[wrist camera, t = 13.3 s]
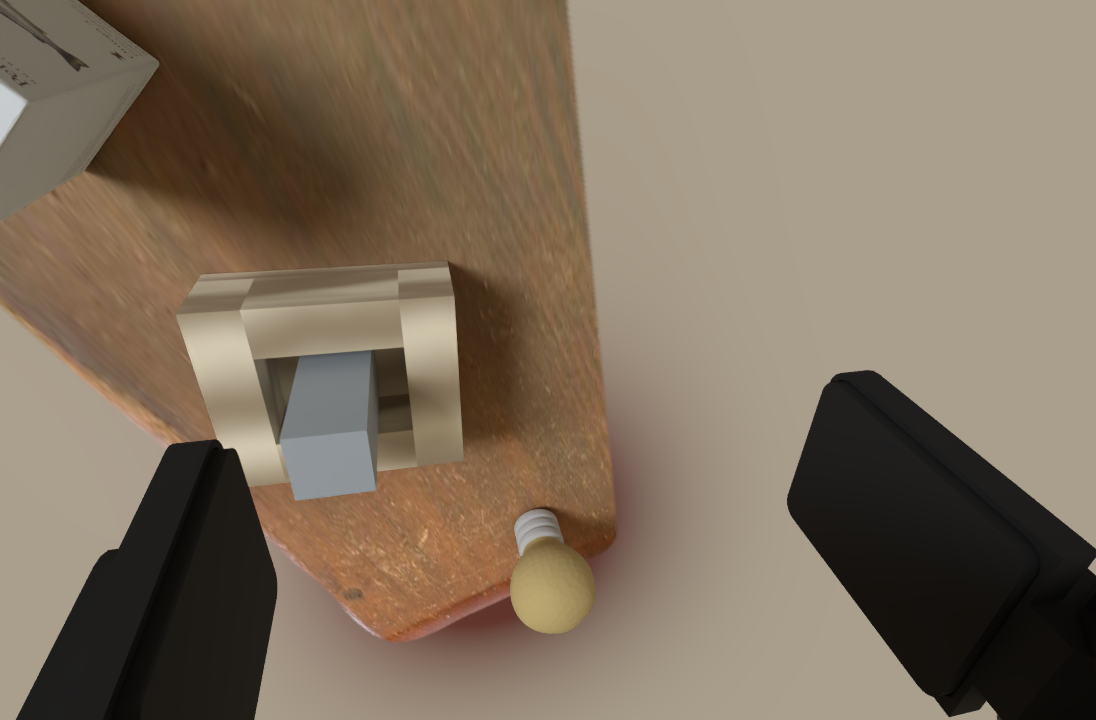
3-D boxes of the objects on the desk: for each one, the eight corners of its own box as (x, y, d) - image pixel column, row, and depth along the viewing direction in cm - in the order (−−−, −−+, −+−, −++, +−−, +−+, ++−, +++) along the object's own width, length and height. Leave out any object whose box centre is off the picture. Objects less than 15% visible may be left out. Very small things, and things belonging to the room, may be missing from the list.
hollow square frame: (201, 274, 34) (175, 314, 30) (447, 261, 37) (454, 295, 33) (249, 437, 41) (234, 488, 37) (456, 415, 44) (463, 460, 39)
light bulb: (484, 537, 51) (502, 645, 43) (520, 484, 49) (546, 587, 40) (547, 552, 54) (575, 656, 45) (584, 502, 51) (621, 602, 43)
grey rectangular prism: (304, 336, 37) (279, 439, 28) (371, 331, 38) (366, 430, 29) (315, 390, 39) (295, 500, 31) (379, 384, 40) (376, 490, 31)
